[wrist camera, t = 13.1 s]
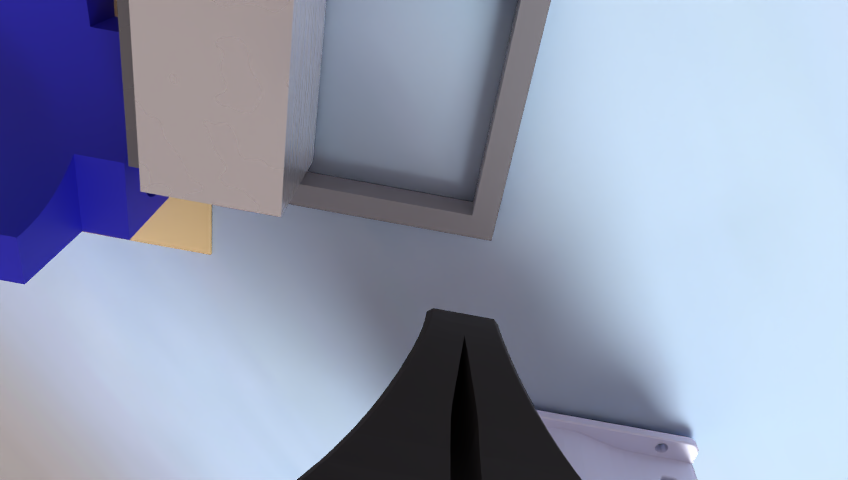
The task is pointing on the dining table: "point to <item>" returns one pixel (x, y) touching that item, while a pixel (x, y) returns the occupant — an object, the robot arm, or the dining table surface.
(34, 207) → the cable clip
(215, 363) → the dining table surface
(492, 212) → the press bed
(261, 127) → the block
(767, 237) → the dining table surface
